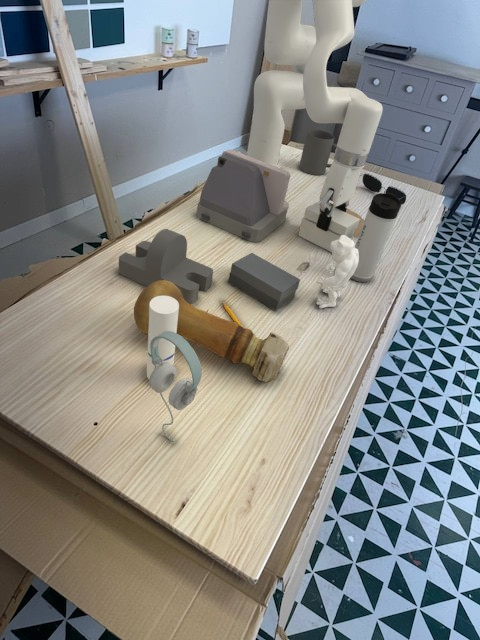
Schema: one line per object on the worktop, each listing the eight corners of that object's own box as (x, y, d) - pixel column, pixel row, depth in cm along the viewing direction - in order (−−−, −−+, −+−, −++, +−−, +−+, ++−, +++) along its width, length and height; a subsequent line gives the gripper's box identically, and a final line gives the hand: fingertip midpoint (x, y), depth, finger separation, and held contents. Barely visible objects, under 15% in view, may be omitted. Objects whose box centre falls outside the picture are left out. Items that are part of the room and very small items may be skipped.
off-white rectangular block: (297, 235, 123) (302, 218, 119) (311, 227, 127) (316, 210, 124) (337, 255, 118) (343, 238, 114) (350, 246, 122) (355, 229, 119)
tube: (147, 364, 79) (150, 294, 70) (172, 365, 80) (179, 296, 70) (145, 383, 76) (148, 312, 67) (172, 384, 77) (178, 314, 67)
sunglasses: (403, 208, 147) (408, 193, 143) (374, 223, 140) (378, 208, 136) (361, 185, 156) (365, 171, 152) (331, 198, 149) (335, 184, 145)
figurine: (336, 318, 98) (359, 258, 88) (307, 307, 99) (326, 246, 89) (347, 292, 106) (370, 234, 96) (320, 282, 107) (339, 224, 97)
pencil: (266, 368, 83) (267, 365, 83) (220, 303, 95) (220, 300, 95) (270, 367, 84) (271, 364, 83) (224, 302, 96) (224, 300, 95)
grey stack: (227, 282, 101) (231, 263, 98) (247, 270, 106) (251, 252, 103) (276, 311, 96) (281, 292, 93) (294, 298, 101) (300, 279, 98)
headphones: (138, 428, 69) (141, 328, 57) (159, 414, 72) (166, 315, 59) (177, 464, 66) (189, 366, 53) (197, 447, 68) (213, 350, 56)
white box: (303, 216, 119) (305, 208, 117) (317, 209, 123) (320, 200, 122) (344, 236, 114) (347, 227, 112) (357, 227, 119) (360, 219, 117)
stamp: (277, 397, 78) (277, 326, 69) (133, 363, 86) (116, 296, 78) (294, 358, 85) (296, 290, 76) (160, 330, 94) (147, 265, 85)
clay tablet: (367, 226, 133) (370, 217, 131) (353, 238, 126) (356, 229, 124) (323, 207, 138) (326, 198, 137) (307, 217, 131) (309, 208, 130)
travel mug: (374, 273, 114) (405, 197, 101) (368, 286, 109) (400, 208, 96) (349, 264, 115) (377, 188, 103) (343, 276, 110) (371, 198, 98)
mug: (295, 169, 157) (303, 133, 150) (303, 161, 164) (312, 127, 157) (333, 182, 154) (343, 146, 147) (340, 173, 161) (350, 138, 153)
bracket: (143, 253, 105) (144, 210, 98) (213, 283, 100) (219, 240, 93) (116, 272, 98) (115, 227, 91) (190, 305, 93) (195, 260, 86)
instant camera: (294, 223, 127) (308, 171, 118) (247, 247, 114) (257, 190, 104) (236, 193, 136) (244, 142, 126) (185, 212, 123) (190, 156, 113)
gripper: (353, 144, 115) (333, 209, 126) (318, 158, 104) (299, 228, 115) (380, 154, 112) (357, 220, 123) (347, 170, 101) (324, 241, 112)
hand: (329, 223), depth 119 cm, fingers closed on white box, 7 cm apart
